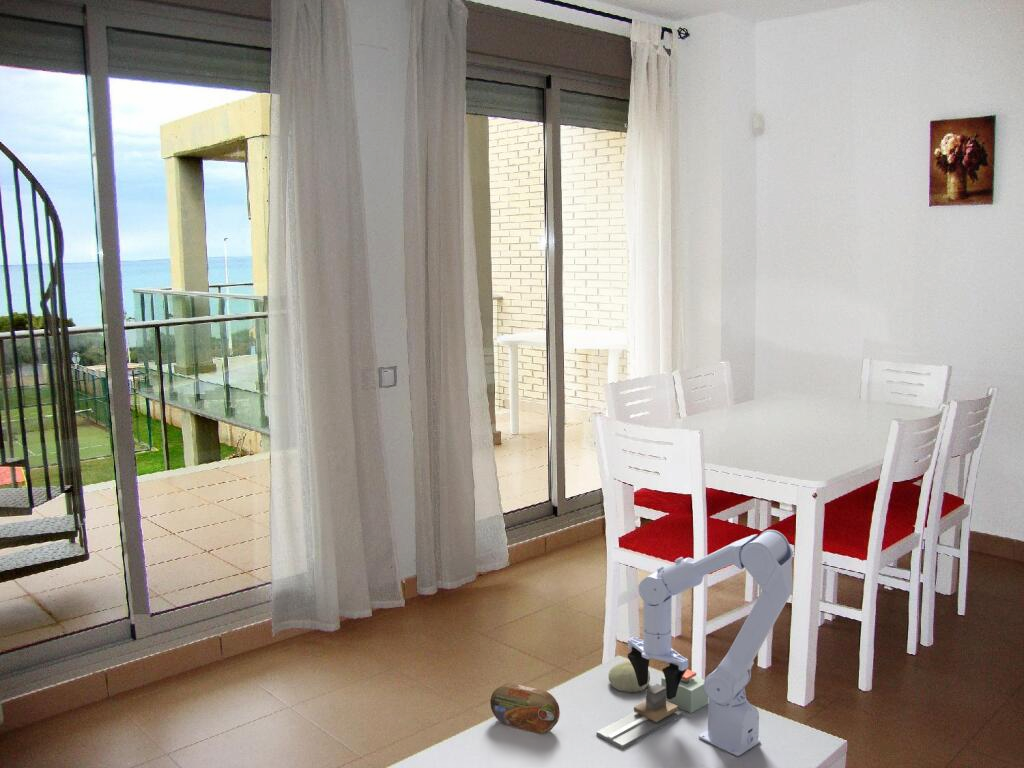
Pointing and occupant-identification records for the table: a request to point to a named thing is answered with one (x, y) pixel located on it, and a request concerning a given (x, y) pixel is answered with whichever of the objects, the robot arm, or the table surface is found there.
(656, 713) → the carriage
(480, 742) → the table surface
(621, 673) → the sea urchin shell
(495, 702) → the tin
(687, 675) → the button
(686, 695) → the pale green block
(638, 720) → the track
